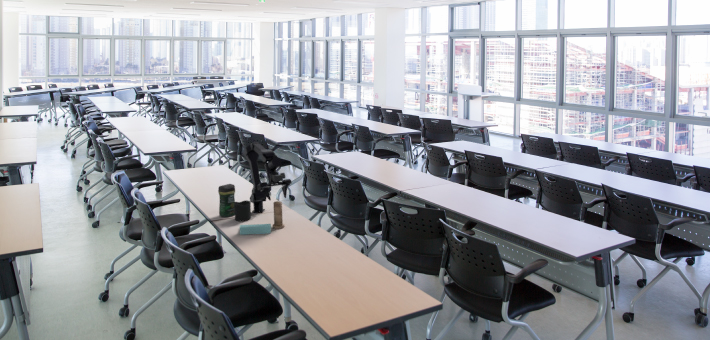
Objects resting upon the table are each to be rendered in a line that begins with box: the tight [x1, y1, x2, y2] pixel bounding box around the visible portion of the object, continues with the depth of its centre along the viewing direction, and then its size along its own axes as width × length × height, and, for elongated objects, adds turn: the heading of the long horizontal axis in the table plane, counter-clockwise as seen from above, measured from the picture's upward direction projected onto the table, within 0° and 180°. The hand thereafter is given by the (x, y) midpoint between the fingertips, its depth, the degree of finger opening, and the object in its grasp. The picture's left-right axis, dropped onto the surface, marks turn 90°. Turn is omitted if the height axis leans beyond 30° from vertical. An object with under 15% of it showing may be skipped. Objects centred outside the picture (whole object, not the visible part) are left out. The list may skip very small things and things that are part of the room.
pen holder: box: [234, 200, 252, 222], centre depth 312 cm, size 9×9×10 cm
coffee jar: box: [217, 183, 236, 218], centre depth 319 cm, size 10×8×19 cm
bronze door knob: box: [272, 200, 285, 230], centre depth 298 cm, size 6×6×14 cm
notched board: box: [239, 223, 272, 236], centre depth 293 cm, size 12×16×4 cm
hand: (277, 199), depth 301 cm, fingers open, 9 cm apart
